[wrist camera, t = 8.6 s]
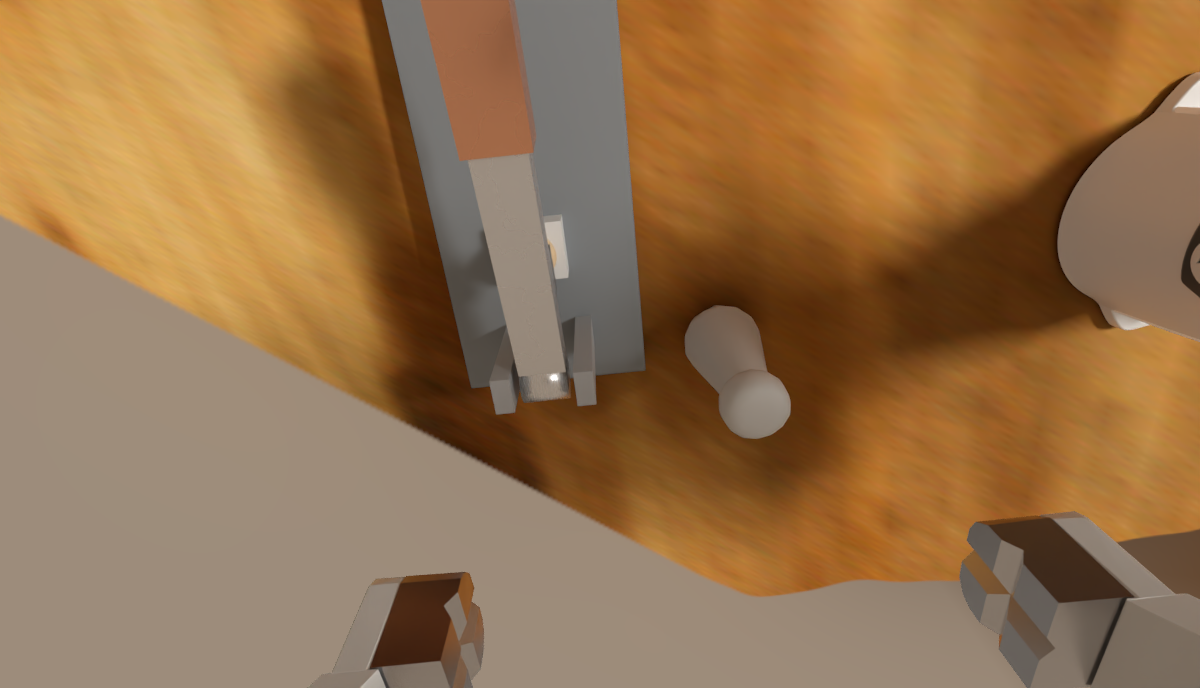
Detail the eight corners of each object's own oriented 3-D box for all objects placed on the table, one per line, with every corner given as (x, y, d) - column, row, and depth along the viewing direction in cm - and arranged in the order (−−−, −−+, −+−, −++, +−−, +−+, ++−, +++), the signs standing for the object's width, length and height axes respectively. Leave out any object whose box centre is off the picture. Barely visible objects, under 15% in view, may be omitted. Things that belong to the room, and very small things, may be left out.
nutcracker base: (643, 359, 47) (658, 435, 37) (475, 376, 47) (446, 456, 37) (611, -45, 35) (621, -91, 25) (387, -18, 35) (309, -54, 25)
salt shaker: (750, 357, 47) (805, 451, 35) (681, 365, 47) (713, 460, 36) (751, 291, 45) (810, 368, 33) (678, 299, 45) (711, 379, 33)
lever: (575, 373, 40) (575, 407, 37) (524, 378, 40) (520, 412, 37) (503, -79, 25) (494, -80, 22) (421, -69, 25) (402, -69, 22)
